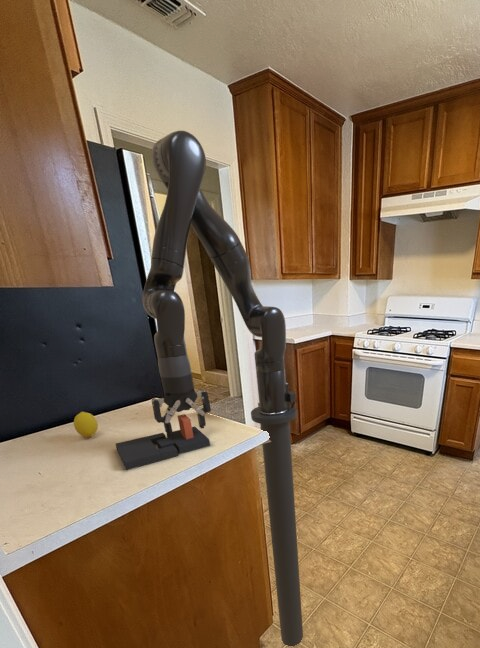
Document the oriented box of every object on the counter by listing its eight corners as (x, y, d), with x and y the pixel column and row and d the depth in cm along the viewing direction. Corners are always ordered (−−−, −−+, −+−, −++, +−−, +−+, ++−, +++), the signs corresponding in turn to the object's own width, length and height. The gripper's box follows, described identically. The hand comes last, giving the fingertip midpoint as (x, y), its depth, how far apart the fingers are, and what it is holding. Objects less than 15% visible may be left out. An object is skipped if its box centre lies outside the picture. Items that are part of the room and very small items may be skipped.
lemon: (74, 440, 101) (65, 414, 98) (91, 433, 106) (83, 407, 103) (88, 442, 99) (80, 415, 96) (105, 434, 104) (98, 409, 101)
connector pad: (196, 432, 104) (191, 408, 102) (210, 445, 95) (206, 419, 93) (154, 442, 98) (148, 417, 95) (165, 457, 89) (159, 430, 86)
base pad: (164, 438, 101) (163, 432, 100) (178, 456, 90) (176, 448, 89) (117, 450, 94) (115, 443, 93) (126, 470, 84) (124, 462, 83)
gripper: (149, 380, 84) (163, 442, 90) (208, 371, 91) (217, 429, 98) (142, 374, 89) (156, 433, 96) (198, 366, 97) (207, 421, 103)
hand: (186, 431), depth 97 cm, fingers open, 8 cm apart
